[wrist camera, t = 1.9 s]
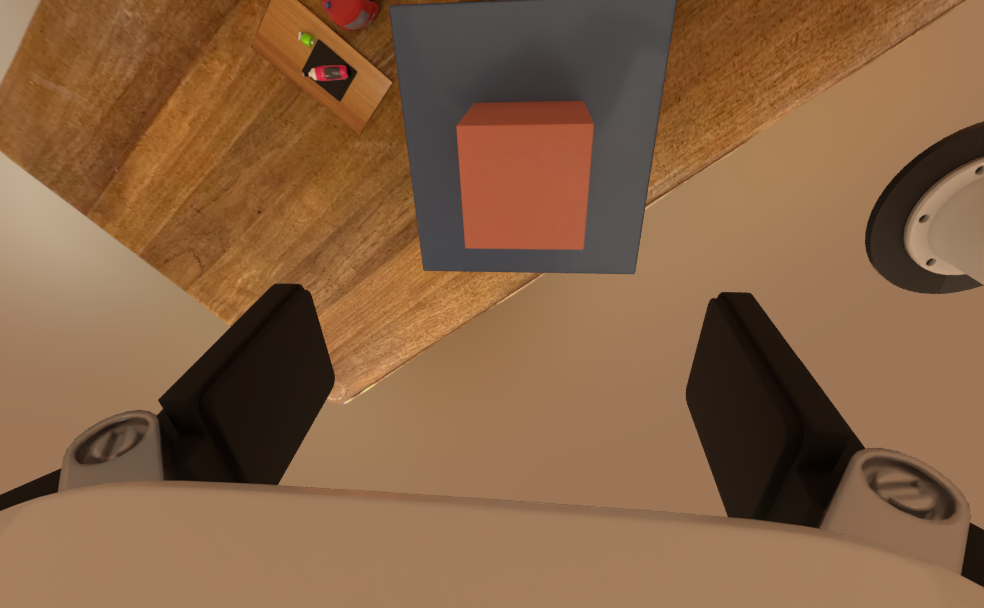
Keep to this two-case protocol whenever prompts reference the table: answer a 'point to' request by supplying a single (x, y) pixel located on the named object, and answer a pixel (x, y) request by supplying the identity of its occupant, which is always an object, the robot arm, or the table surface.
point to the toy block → (525, 174)
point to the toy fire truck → (351, 12)
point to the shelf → (531, 78)
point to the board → (320, 62)
